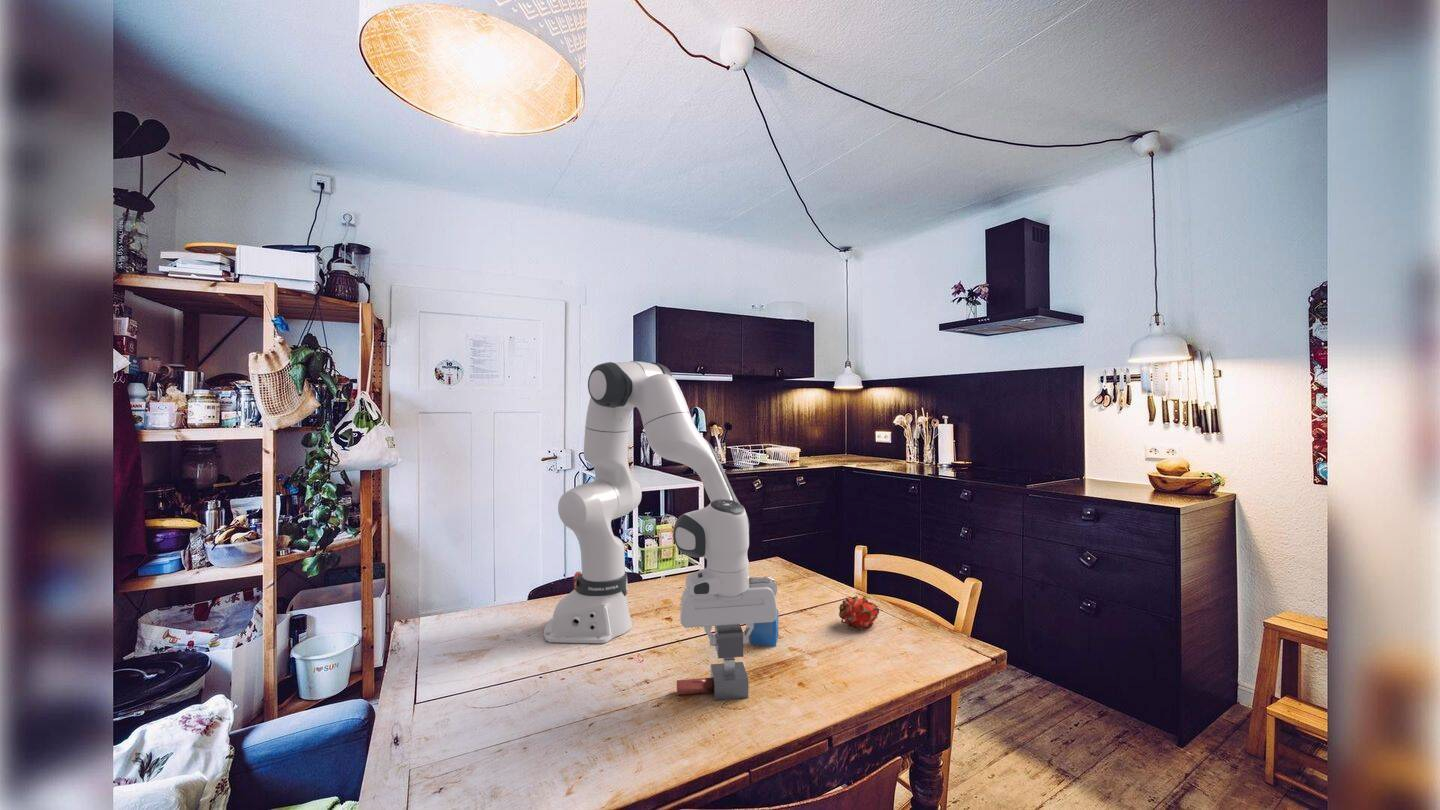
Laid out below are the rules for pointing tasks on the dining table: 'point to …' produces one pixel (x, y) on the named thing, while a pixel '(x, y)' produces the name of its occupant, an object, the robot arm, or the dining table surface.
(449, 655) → the dining table surface
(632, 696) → the dining table surface
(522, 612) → the dining table surface
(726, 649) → the grey block
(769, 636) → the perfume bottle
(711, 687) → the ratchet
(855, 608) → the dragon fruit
